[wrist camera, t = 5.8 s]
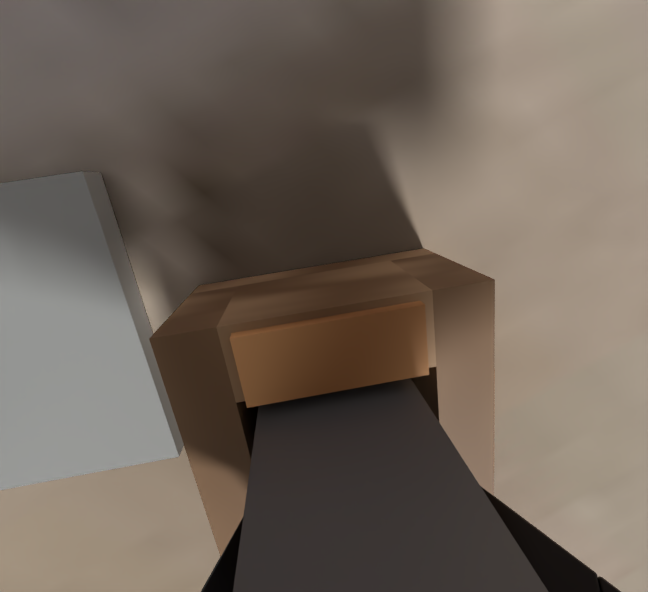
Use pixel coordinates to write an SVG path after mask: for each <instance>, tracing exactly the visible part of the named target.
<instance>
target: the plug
mask: <svg viewBox="0 0 648 592" xmlns="http://www.w3.org/2000/svg"><path fill="white" fill-rule="evenodd" d="M233 592H548V590H547V589H546V587H545V586H544V584H543V583H542V581H541V579H540V578H539V576H538V575H537V573H536V572H535V570H534V569H533V567H532V565H531V564H530V562H529V561H528V559H527V558H526V556H525V555H524V553H523V552H522V550H521V548H520V547H519V545H518V544H517V542H516V541H515V539H514V538H513V536H512V534H511V533H510V531H509V530H508V528H507V527H506V525H505V524H504V522H503V520H502V519H501V517H500V516H499V514H498V513H497V511H496V510H495V508H494V507H493V505H492V503H491V502H490V500H489V499H488V497H487V496H486V494H485V493H484V491H483V489H482V488H481V486H480V485H479V483H478V482H477V480H476V479H475V477H474V476H473V474H472V472H471V471H470V469H469V468H468V466H467V465H466V463H465V462H464V460H463V458H462V457H461V455H460V454H459V452H458V451H457V449H456V448H455V446H454V444H453V443H452V441H451V440H450V438H449V437H448V435H447V434H446V432H445V431H444V429H443V427H442V426H441V424H440V423H439V421H438V420H437V418H436V417H435V415H434V413H433V412H432V410H431V409H430V407H429V406H428V404H427V403H426V401H425V400H424V398H423V396H422V395H421V393H420V392H419V390H418V389H417V387H416V386H415V384H414V382H413V381H412V379H411V378H408V379H403V380H397V381H392V382H386V383H381V384H375V385H370V386H364V387H359V388H353V389H348V390H342V391H337V392H332V393H326V394H321V395H315V396H310V397H304V398H299V399H293V400H288V401H282V402H277V403H271V404H266V405H260V406H259V407H258V414H257V421H256V429H255V436H254V443H253V450H252V457H251V465H250V472H249V479H248V486H247V494H246V501H245V508H244V515H243V523H242V530H241V537H240V544H239V552H238V559H237V566H236V573H235V580H234V588H233Z"/></svg>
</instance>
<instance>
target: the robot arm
mask: <svg viewBox="0 0 648 592" xmlns="http://www.w3.org/2000/svg"><path fill="white" fill-rule="evenodd" d="M481 488H482V489H483V491H484V493H485V494H486V496H487V497H488V499H489V500H490V502H491V503H492V505H493V507H494V508H495V510H496V511H497V513H498V514H499V516H500V517H501V519H502V520H503V522H504V524H505V525H506V527H507V528H508V530H509V531H510V533H511V534H512V536H513V538H514V539H515V541H516V542H517V544H518V545H519V547H520V548H521V550H522V552H523V553H524V555H525V556H526V558H527V559H528V561H529V562H530V564H531V565H532V567H533V569H534V570H535V572H536V573H537V575H538V576H539V578H540V579H541V581H542V583H543V584H544V586H545V587H546V589H547V590H548V592H621V591H619V590H618V589H617V588H615V587H614V586H613V585H611V584H610V583H609V582H607V581H606V580H605V579H604V578H602V577H597V574H596V573H595V572H594V571H593V570H591V569H590V568H589V567H587V566H586V565H585V564H583V563H582V562H581V561H579V560H578V559H577V558H575V557H574V556H573V555H571V554H570V553H569V552H568V551H566V550H565V549H564V548H562V547H561V546H560V545H558V544H557V543H556V542H554V541H553V540H552V539H550V538H549V537H548V536H546V535H545V534H544V533H542V532H541V531H540V530H538V529H537V528H536V527H534V526H533V525H532V524H530V523H529V522H528V521H526V520H525V519H524V518H522V517H521V516H520V515H518V514H517V513H516V512H515V511H513V510H512V509H511V508H509V507H508V506H507V505H505V504H504V503H503V502H501V501H500V500H499V499H497V498H496V497H495V496H493V495H492V494H491V493H489V492H488V491H487V490H485V489H484V488H483V487H481ZM242 523H243V518H242V520H241V521H240V523H239V525H238V527H237V528H236V530H235V532H234V534H233V536H232V537H231V539H230V541H229V543H228V544H227V546H226V548H225V550H224V552H223V553H222V555H221V557H220V559H219V560H218V562H217V564H216V566H215V568H214V569H213V571H212V573H211V575H210V576H209V578H208V580H207V582H206V584H205V585H204V587H203V589H202V591H201V592H233V588H234V580H235V573H236V566H237V559H238V552H239V544H240V537H241V530H242Z"/></svg>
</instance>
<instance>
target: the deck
mask: <svg viewBox="0 0 648 592" xmlns="http://www.w3.org/2000/svg"><path fill="white" fill-rule="evenodd" d="M152 335H153V332H152V329H151V326H150V323H149V320H148V317H147V314H146V311H145V308H144V305H143V301H142V298H141V295H140V292H139V289H138V286H137V283H136V280H135V277H134V274H133V271H132V267H131V264H130V261H129V258H128V255H127V252H126V249H125V246H124V243H123V240H122V237H121V233H120V230H119V227H118V224H117V221H116V218H115V215H114V212H113V209H112V206H111V203H110V199H109V196H108V193H107V190H106V187H105V184H104V181H103V178H102V175H101V173H100V172H88V171H79V172H72V173H66V174H59V175H52V176H45V177H38V178H32V179H25V180H18V181H11V182H4V183H0V490H4V489H9V488H15V487H20V486H25V485H31V484H36V483H41V482H47V481H52V480H57V479H63V478H68V477H73V476H79V475H84V474H89V473H95V472H100V471H105V470H111V469H116V468H121V467H127V466H132V465H137V464H143V463H148V462H153V461H159V460H164V459H169V458H175V457H179V456H180V453H181V451H182V448H183V446H184V444H183V441H182V438H181V435H180V431H179V428H178V425H177V422H176V419H175V416H174V413H173V410H172V407H171V404H170V401H169V398H168V395H167V392H166V389H165V386H164V383H163V380H162V377H161V374H160V371H159V368H158V365H157V362H156V358H155V355H154V352H153V349H152V346H151V343H150V340H149V338H150V337H151V336H152Z"/></svg>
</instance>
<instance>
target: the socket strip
mask: <svg viewBox="0 0 648 592" xmlns="http://www.w3.org/2000/svg"><path fill="white" fill-rule="evenodd" d="M494 319H495V280H494V279H492V278H490V277H487V276H485V275H483V274H481V273H478V272H476V271H474V270H472V269H469V268H467V267H465V266H463V265H460V264H458V263H456V262H454V261H451V260H449V259H447V258H445V257H442V256H440V255H438V254H435V253H433V252H431V251H429V250H426V249H424V248H423V249H417V250H411V251H405V252H399V253H393V254H386V255H380V256H374V257H368V258H362V259H356V260H350V261H344V262H338V263H332V264H326V265H320V266H314V267H308V268H302V269H295V270H289V271H283V272H277V273H271V274H265V275H259V276H253V277H247V278H241V279H235V280H229V281H223V282H217V283H210V284H204V285H199V286H198V287H197V288H196V289H195V290H194V291H193V292H192V293H191V294H190V295H189V297H188V298H187V299H186V300H185V301H184V302H183V303H182V304H181V305H180V306H179V307H178V308H177V309H176V310H175V311H174V313H173V314H172V315H171V316H170V317H169V318H168V319H167V320H166V321H165V322H164V323H163V324H162V325H161V326H160V328H159V329H158V330H157V331H156V332H155V333H154V334H153V335H152V336H151V337H150V338H149V340H150V343H151V346H152V349H153V352H154V355H155V358H156V362H157V365H158V368H159V371H160V374H161V377H162V380H163V383H164V386H165V389H166V392H167V395H168V398H169V401H170V404H171V407H172V410H173V413H174V416H175V419H176V422H177V425H178V428H179V431H180V435H181V438H182V441H183V444H184V447H185V450H186V453H187V456H188V459H189V462H190V465H191V468H192V471H193V474H194V477H195V480H196V483H197V486H198V489H199V492H200V495H201V498H202V501H203V504H204V507H205V511H206V514H207V517H208V520H209V523H210V526H211V529H212V532H213V535H214V538H215V541H216V544H217V547H218V550H219V553H220V556H221V555H222V553H223V552H224V550H225V548H226V546H227V544H228V543H229V541H230V539H231V537H232V536H233V534H234V532H235V530H236V528H237V527H238V525H239V523H240V521H241V520H242V518H243V515H244V508H245V501H246V494H247V486H248V479H249V472H250V465H251V457H252V450H253V443H254V436H255V429H256V421H257V414H258V407H259V406H260V405H266V404H271V403H277V402H282V401H288V400H293V399H299V398H304V397H310V396H315V395H321V394H326V393H332V392H337V391H342V390H348V389H353V388H359V387H364V386H370V385H375V384H381V383H386V382H392V381H397V380H403V379H408V378H411V379H412V381H413V382H414V384H415V386H416V387H417V389H418V390H419V392H420V393H421V395H422V396H423V398H424V400H425V401H426V403H427V404H428V406H429V407H430V409H431V410H432V412H433V413H434V415H435V417H436V418H437V420H438V421H439V423H440V424H441V426H442V427H443V429H444V431H445V432H446V434H447V435H448V437H449V438H450V440H451V441H452V443H453V444H454V446H455V448H456V449H457V451H458V452H459V454H460V455H461V457H462V458H463V460H464V462H465V463H466V465H467V466H468V468H469V469H470V471H471V472H472V474H473V476H474V477H475V479H476V480H477V482H478V483H479V485H480V486H481V487H483V488H484V489H485V490H487V491H488V492H489V493H491V494H492V495H493V496H494V379H495V368H494Z"/></svg>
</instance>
